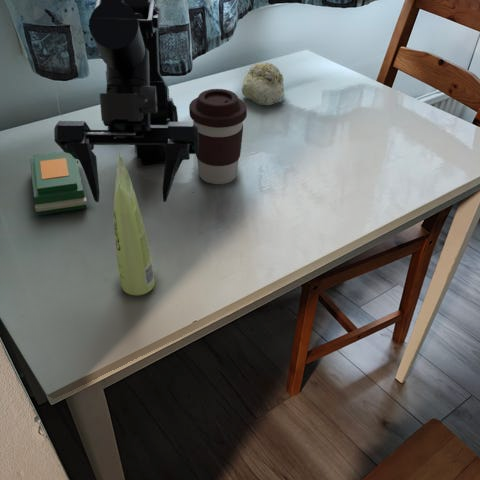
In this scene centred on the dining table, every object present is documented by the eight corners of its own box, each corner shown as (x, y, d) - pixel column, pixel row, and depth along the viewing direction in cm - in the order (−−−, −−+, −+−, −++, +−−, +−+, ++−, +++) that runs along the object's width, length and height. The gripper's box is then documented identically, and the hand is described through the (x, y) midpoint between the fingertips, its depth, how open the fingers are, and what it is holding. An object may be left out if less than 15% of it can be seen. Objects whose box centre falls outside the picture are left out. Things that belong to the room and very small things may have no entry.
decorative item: (234, 68, 124) (273, 49, 122) (248, 103, 130) (286, 86, 127) (236, 82, 115) (278, 63, 113) (251, 119, 120) (292, 101, 118)
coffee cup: (184, 166, 101) (180, 88, 90) (231, 157, 104) (233, 81, 93) (202, 193, 95) (200, 113, 84) (252, 183, 98) (256, 104, 87)
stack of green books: (79, 167, 100) (74, 144, 96) (88, 211, 90) (83, 187, 87) (33, 173, 98) (26, 150, 94) (38, 219, 88) (31, 195, 85)
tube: (111, 284, 78) (87, 166, 64) (136, 267, 81) (119, 151, 66) (137, 302, 76) (118, 184, 61) (162, 284, 78) (150, 167, 64)
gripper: (39, 56, 62) (42, 188, 63) (195, 59, 64) (197, 188, 64) (64, 94, 74) (67, 206, 74) (197, 95, 75) (199, 205, 75)
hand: (130, 201), depth 71 cm, fingers open, 9 cm apart
